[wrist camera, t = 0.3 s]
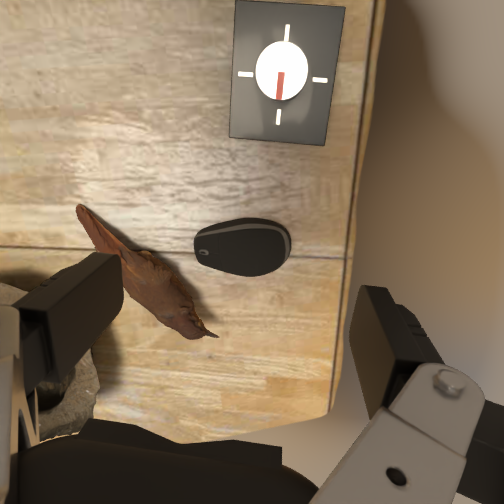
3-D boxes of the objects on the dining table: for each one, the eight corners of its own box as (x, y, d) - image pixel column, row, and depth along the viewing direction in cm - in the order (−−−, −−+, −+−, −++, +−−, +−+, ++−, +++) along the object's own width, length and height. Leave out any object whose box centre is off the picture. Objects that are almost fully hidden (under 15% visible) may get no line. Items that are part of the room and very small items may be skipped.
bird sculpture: (99, 188, 45) (72, 193, 40) (238, 316, 45) (226, 336, 41) (77, 223, 47) (49, 231, 42) (208, 344, 48) (194, 365, 43)
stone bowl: (40, 418, 59) (-6, 467, 50) (-55, 300, 54) (-125, 332, 45) (152, 375, 52) (121, 423, 43) (56, 235, 47) (-1, 258, 38)
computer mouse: (191, 220, 43) (182, 231, 39) (289, 214, 41) (289, 224, 37) (200, 271, 45) (192, 285, 41) (292, 267, 44) (292, 281, 40)
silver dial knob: (262, 49, 32) (257, 37, 27) (308, 52, 32) (312, 41, 27) (258, 100, 34) (253, 98, 29) (302, 103, 33) (304, 102, 29)
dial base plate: (239, 8, 34) (234, -2, 31) (341, 15, 33) (346, 5, 30) (232, 135, 38) (228, 137, 35) (321, 143, 38) (324, 146, 35)
